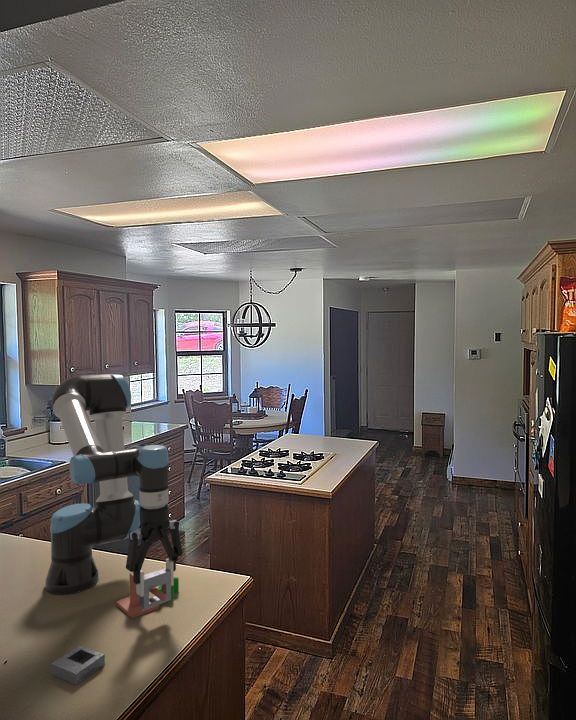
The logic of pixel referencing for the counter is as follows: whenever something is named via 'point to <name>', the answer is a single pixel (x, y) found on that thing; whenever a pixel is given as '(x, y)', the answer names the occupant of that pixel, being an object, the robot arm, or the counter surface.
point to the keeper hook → (137, 601)
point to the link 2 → (153, 581)
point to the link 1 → (77, 664)
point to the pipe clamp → (172, 588)
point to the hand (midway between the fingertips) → (155, 589)
